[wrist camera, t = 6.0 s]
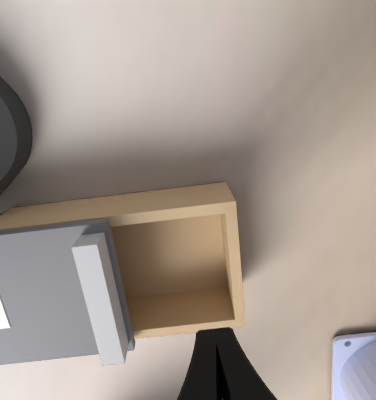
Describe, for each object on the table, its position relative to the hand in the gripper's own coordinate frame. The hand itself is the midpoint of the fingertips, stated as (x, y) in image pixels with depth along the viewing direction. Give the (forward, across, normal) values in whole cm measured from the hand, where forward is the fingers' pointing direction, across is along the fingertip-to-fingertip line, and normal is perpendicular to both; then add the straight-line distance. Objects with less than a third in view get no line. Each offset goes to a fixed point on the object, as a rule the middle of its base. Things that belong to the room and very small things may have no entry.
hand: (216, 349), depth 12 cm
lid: (+5, +12, 0) cm, 13 cm away
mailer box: (+10, +5, 0) cm, 11 cm away
